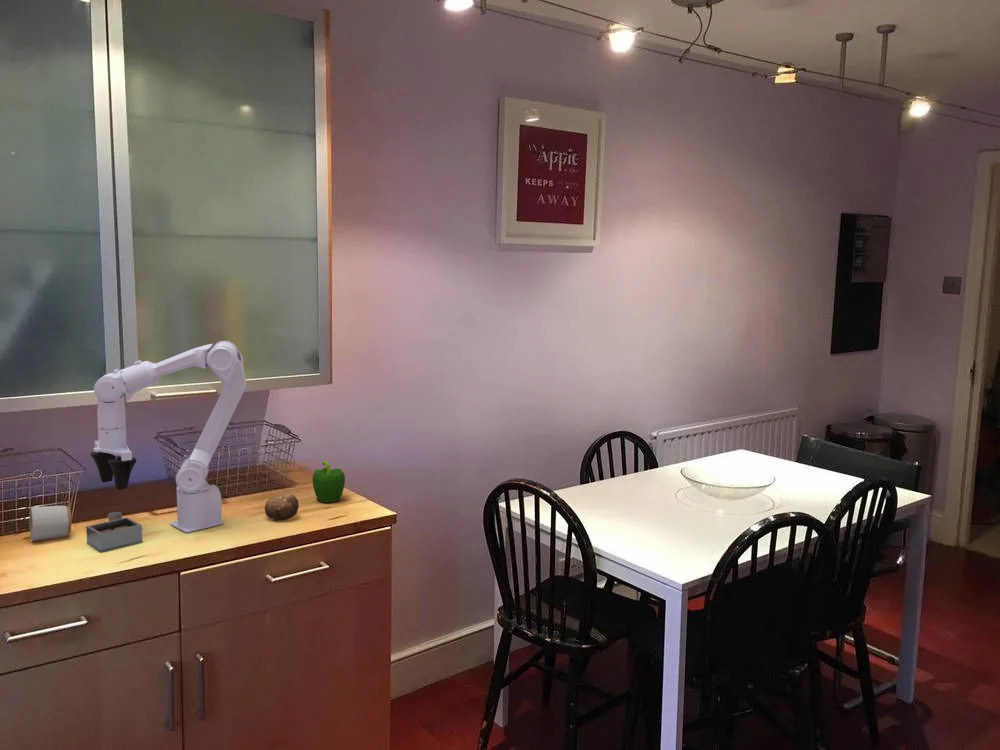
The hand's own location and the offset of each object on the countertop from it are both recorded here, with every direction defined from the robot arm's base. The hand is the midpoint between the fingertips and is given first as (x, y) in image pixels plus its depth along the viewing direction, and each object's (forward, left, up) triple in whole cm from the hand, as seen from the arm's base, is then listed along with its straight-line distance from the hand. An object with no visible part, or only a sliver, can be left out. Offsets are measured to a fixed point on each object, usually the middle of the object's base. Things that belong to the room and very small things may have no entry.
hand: (114, 485), depth 190 cm
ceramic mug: (+12, -5, -11) cm, 17 cm away
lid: (0, 0, -11) cm, 11 cm away
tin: (+4, +9, -10) cm, 14 cm away
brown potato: (-32, +19, -11) cm, 39 cm away
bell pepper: (-49, +15, -11) cm, 52 cm away
